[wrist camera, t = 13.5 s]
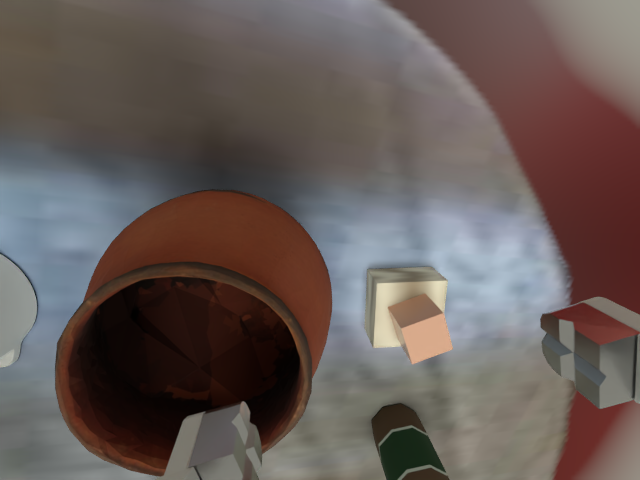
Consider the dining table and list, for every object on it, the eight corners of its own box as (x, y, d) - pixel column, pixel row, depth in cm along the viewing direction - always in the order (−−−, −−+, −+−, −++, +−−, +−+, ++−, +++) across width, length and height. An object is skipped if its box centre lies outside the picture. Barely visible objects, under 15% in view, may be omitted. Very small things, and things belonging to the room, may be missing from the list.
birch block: (364, 327, 48) (373, 348, 44) (366, 268, 46) (377, 283, 41) (424, 323, 49) (440, 343, 45) (430, 266, 47) (447, 280, 42)
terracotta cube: (397, 339, 44) (412, 364, 39) (387, 307, 42) (401, 328, 37) (434, 326, 44) (453, 349, 39) (425, 293, 42) (443, 312, 37)
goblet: (176, 326, 45) (59, 538, 21) (143, 179, 39) (-71, 243, 15) (320, 308, 46) (362, 486, 23) (308, 164, 41) (347, 201, 17)
